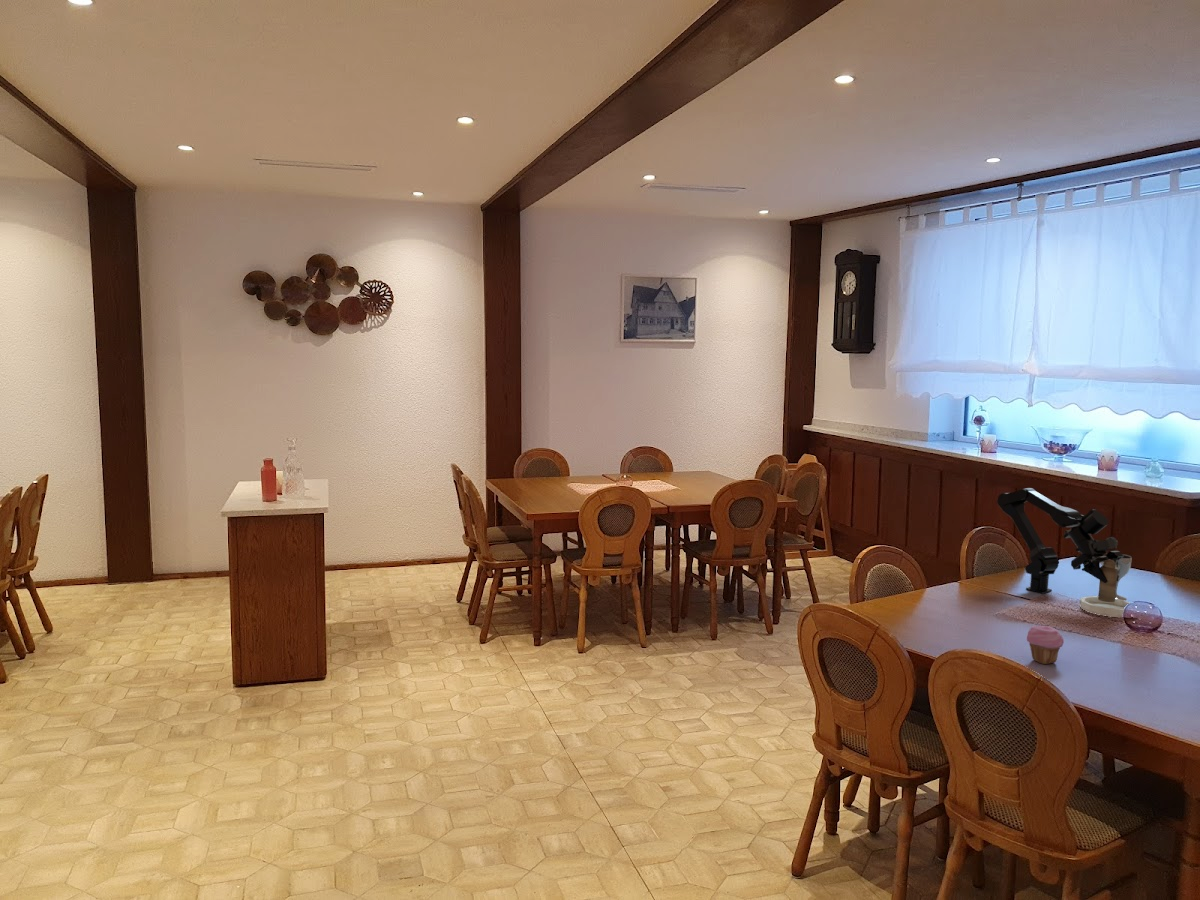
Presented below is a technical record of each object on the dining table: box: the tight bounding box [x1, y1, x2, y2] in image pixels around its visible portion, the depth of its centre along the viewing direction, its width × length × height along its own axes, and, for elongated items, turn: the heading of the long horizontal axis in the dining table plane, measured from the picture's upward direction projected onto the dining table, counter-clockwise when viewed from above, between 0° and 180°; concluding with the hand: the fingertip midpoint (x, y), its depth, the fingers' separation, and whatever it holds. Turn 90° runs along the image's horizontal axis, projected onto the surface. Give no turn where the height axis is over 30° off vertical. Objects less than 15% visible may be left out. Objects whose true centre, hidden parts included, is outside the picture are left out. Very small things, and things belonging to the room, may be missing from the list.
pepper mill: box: [1097, 559, 1118, 602], centre depth 288 cm, size 5×5×14 cm
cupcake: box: [1026, 625, 1065, 665], centre depth 237 cm, size 9×9×10 cm
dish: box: [1079, 595, 1131, 618], centre depth 289 cm, size 16×16×3 cm
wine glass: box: [1115, 553, 1133, 601], centre depth 306 cm, size 8×8×15 cm
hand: (1111, 581), depth 287 cm, fingers closed on pepper mill, 5 cm apart
